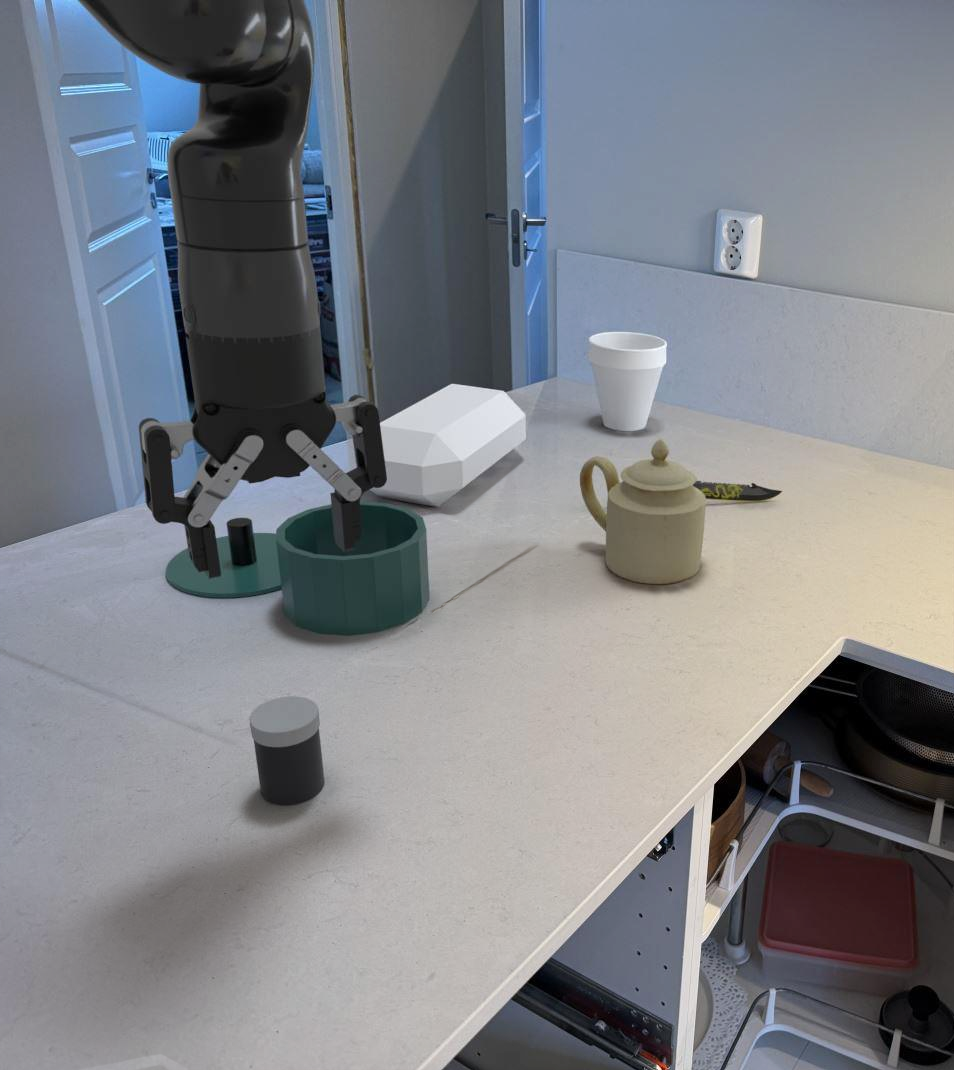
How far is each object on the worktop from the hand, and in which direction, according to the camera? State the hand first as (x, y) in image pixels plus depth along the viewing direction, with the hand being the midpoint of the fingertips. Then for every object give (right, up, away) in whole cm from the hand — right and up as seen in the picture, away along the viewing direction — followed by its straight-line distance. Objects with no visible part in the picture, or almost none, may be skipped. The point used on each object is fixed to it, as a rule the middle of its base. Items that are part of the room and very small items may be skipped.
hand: (280, 559), depth 66 cm
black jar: (-2, -17, +8) cm, 19 cm away
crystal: (-7, +10, +67) cm, 68 cm away
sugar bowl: (+20, -2, +47) cm, 51 cm away
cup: (+15, +19, +93) cm, 96 cm away
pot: (-7, -5, +33) cm, 34 cm away
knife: (+27, +6, +65) cm, 70 cm away
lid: (-20, -2, +38) cm, 43 cm away
